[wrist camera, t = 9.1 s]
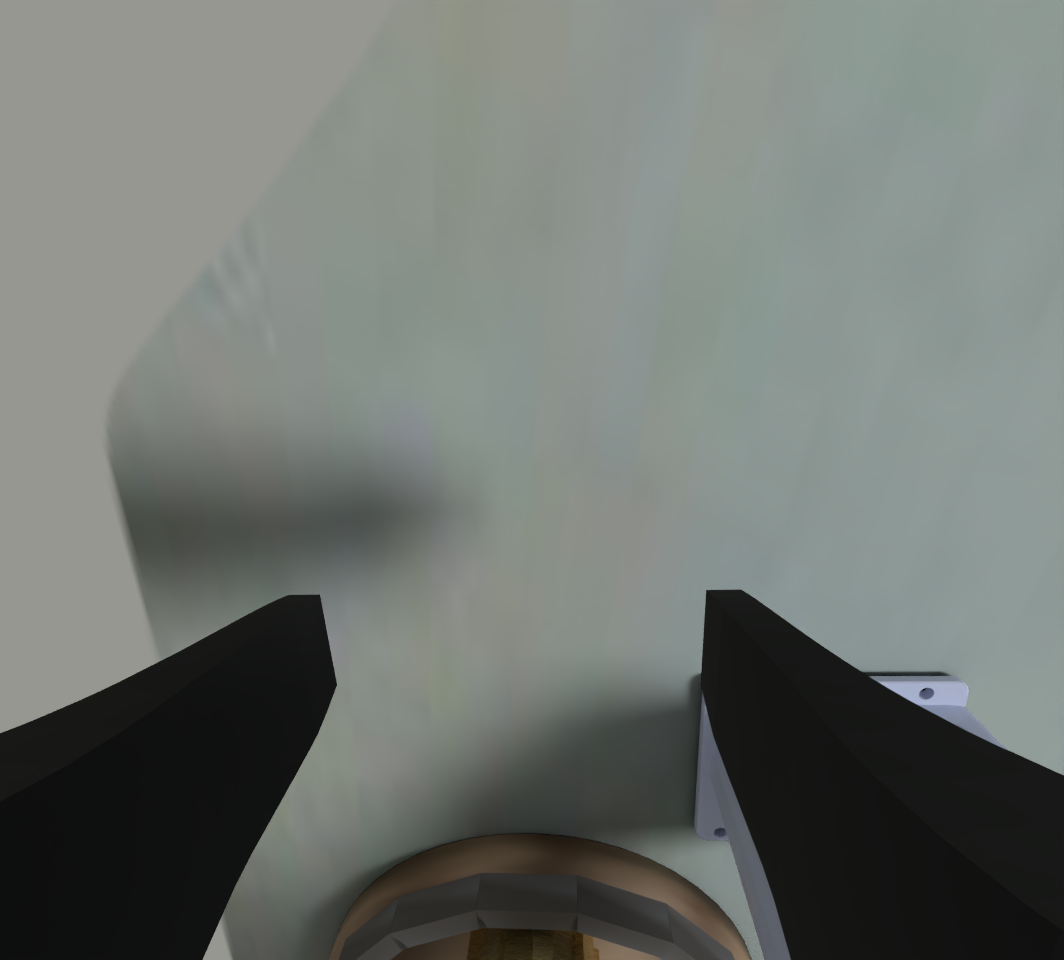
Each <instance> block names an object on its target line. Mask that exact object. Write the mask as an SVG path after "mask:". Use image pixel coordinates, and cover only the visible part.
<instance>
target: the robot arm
mask: <svg viewBox="0 0 1064 960" xmlns="http://www.w3.org/2000/svg"><path fill="white" fill-rule="evenodd" d="M336 686H337V683H336V677H335V672H334V667H333V662H332V656H331V651H330V646H329V641H328V635H327V630H326V625H325V620H324V614H323V609H322V604H321V598H320V595H288V596H285V597H283V598H280V599H278V600H276V601H274V602H272V603H269V604H267V605H265V606H263V607H261V608H259V609H258V610H256V611H254V612H252V613H250V614H248V615H246V616H244V617H242V618H240V619H239V620H237V621H235V622H233V623H231V624H229V625H228V626H226V627H224V628H222V629H220V630H218V631H217V632H215V633H213V634H211V635H209V636H207V637H205V638H204V639H202V640H200V641H198V642H196V643H194V644H193V645H191V646H189V647H187V648H185V649H183V650H181V651H179V652H178V653H176V654H174V655H172V656H170V657H168V658H166V659H164V660H162V661H160V662H158V663H156V664H154V665H152V666H150V667H148V668H146V669H144V670H142V671H140V672H138V673H136V674H134V675H132V676H130V677H128V678H126V679H124V680H122V681H120V682H119V683H116V684H114V685H112V686H110V687H108V688H106V689H104V690H102V691H100V692H97V693H95V694H93V695H91V696H89V697H86V698H84V699H82V700H80V701H78V702H75V703H73V704H71V705H68V706H66V707H64V708H62V709H59V710H57V711H54V712H52V713H50V714H47V715H45V716H43V717H40V718H38V719H36V720H33V721H31V722H28V723H26V724H23V725H21V726H19V727H16V728H13V729H10V730H8V731H5V732H3V733H0V960H203V957H204V955H205V952H206V950H207V948H208V945H209V944H210V941H211V939H212V937H213V935H214V932H215V930H216V928H217V926H218V923H219V921H220V919H221V917H222V914H223V912H224V910H225V908H226V905H227V903H228V901H229V899H230V896H231V894H232V892H233V890H234V887H235V885H236V883H237V881H238V879H239V877H240V875H241V873H242V872H243V870H244V868H245V866H246V864H247V862H248V860H249V858H250V856H251V854H252V852H253V850H254V849H255V847H256V845H257V843H258V841H259V840H260V838H261V836H262V834H263V833H264V831H265V829H266V827H267V825H268V824H269V822H270V820H271V818H272V816H273V815H274V813H275V811H276V809H277V807H278V806H279V804H280V802H281V800H282V798H283V797H284V795H285V793H286V791H287V790H288V788H289V786H290V784H291V782H292V781H293V779H294V777H295V775H296V773H297V772H298V770H299V768H300V766H301V764H302V762H303V761H304V759H305V757H306V755H307V753H308V751H309V750H310V748H311V746H312V744H313V742H314V740H315V738H316V736H317V735H318V732H319V730H320V727H321V725H322V722H323V720H324V718H325V715H326V713H327V710H328V707H329V705H330V702H331V699H332V697H333V694H334V691H335V689H336ZM701 688H702V703H701V719H700V736H699V752H698V768H697V785H696V801H695V818H694V826H695V831H696V835H697V836H698V837H699V838H701V839H703V840H717V841H729V842H730V845H731V848H732V852H733V855H734V858H735V862H736V865H737V868H738V872H739V875H740V879H741V882H742V885H743V889H744V892H745V895H746V899H747V902H748V905H749V909H750V912H751V915H752V919H753V922H754V925H755V929H756V932H757V935H758V939H759V942H760V946H761V949H762V952H763V956H764V959H765V960H1064V775H1061V774H1059V773H1057V772H1054V771H1052V770H1050V769H1048V768H1046V767H1043V766H1041V765H1039V764H1037V763H1035V762H1032V761H1030V760H1028V759H1026V758H1024V757H1021V756H1019V755H1017V754H1015V753H1013V752H1010V751H1008V750H1007V749H1006V748H1005V747H1004V746H1003V745H1002V744H1001V743H1000V742H999V741H998V740H997V739H996V738H995V737H994V736H993V735H992V734H991V733H990V732H989V731H988V730H987V729H986V728H985V727H984V726H983V725H982V724H981V722H980V721H979V720H978V719H977V718H976V717H975V716H974V715H973V714H972V713H971V712H970V711H969V710H968V709H967V708H966V707H965V705H966V701H967V697H968V693H969V688H968V687H967V685H966V684H965V683H964V682H963V681H962V680H961V679H959V678H958V677H954V676H868V675H866V674H864V673H863V672H861V671H859V670H858V669H856V668H855V667H853V666H851V665H850V664H848V663H847V662H845V661H844V660H842V659H841V658H839V657H838V656H836V655H835V654H833V653H832V652H830V651H829V650H827V649H826V648H824V647H823V646H821V645H820V644H818V643H817V642H815V641H814V640H812V639H811V638H810V637H808V636H807V635H805V634H804V633H802V632H801V631H800V630H798V629H797V628H795V627H794V626H793V625H791V624H790V623H788V622H787V621H786V620H784V619H783V618H781V617H780V616H779V615H777V614H776V613H774V612H773V611H772V610H770V609H769V608H768V607H766V606H765V605H763V604H762V603H761V602H759V601H758V600H756V599H755V598H753V597H752V596H750V595H749V594H747V593H746V592H744V591H742V590H706V606H705V622H704V639H703V656H702V673H701ZM924 688H926V690H924V691H923V692H920V691H921V690H922V689H924ZM717 828H718V829H717Z"/></svg>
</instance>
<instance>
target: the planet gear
mask: <svg viewBox="0 0 1064 960" xmlns="http://www.w3.org/2000/svg"><path fill="white" fill-rule="evenodd" d="M466 960H600V959H599V949H595V948H594V944H593V937H592V936H589V935H586V934H583V933H579V932H576V931H571V930H538V929H505V928H480V929H477V930H473V931H471V932H470V937H469V944H468V950H467V957H466Z"/></svg>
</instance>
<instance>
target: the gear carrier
mask: <svg viewBox="0 0 1064 960" xmlns="http://www.w3.org/2000/svg"><path fill="white" fill-rule="evenodd" d="M480 928H505V929H538V930H571V931H576V932H579V933H583V934H586V935H589V936H592V937H593V944H594V948H595V949H599V959H600V960H752V959H751V956H750V954H749V951H748V949H747V946H746V944H745V941H744V939H743V938H742V936H741V935H740V933H739V931H738V930H737V928H736V926H735V925H734V923H733V922H732V921H731V919H730V918H729V917H728V916H727V915H726V914H725V912H724V911H723V910H722V909H721V908H720V907H719V905H718V904H717V903H715V902H714V901H713V900H712V899H711V898H710V897H709V896H707V895H706V894H705V893H704V892H703V891H702V890H701V889H699V888H698V887H697V886H695V885H694V884H692V883H691V882H689V881H688V880H686V879H685V878H683V877H682V876H680V875H679V874H677V873H676V872H674V871H672V870H670V869H668V868H666V867H664V866H662V865H660V864H658V863H656V862H654V861H652V860H650V859H648V858H645V857H642V856H640V855H637V854H635V853H632V852H629V851H627V850H624V849H621V848H617V847H614V846H610V845H606V844H603V843H599V842H595V841H591V840H585V839H579V838H573V837H566V836H559V835H544V834H502V835H493V836H485V837H478V838H470V839H466V840H462V841H458V842H454V843H450V844H446V845H442V846H439V847H436V848H434V849H431V850H428V851H426V852H423V853H420V854H417V855H415V856H414V857H412V858H410V859H408V860H406V861H404V862H402V863H400V864H398V865H396V866H394V867H393V868H392V869H390V870H389V871H387V872H386V873H385V874H383V875H382V876H380V877H379V878H377V879H376V880H375V881H374V882H373V883H372V884H371V885H370V886H369V887H368V888H367V889H366V890H365V891H364V892H363V893H361V894H360V896H359V897H358V898H357V900H356V901H355V903H354V904H353V905H352V907H351V908H350V909H349V911H348V913H347V915H346V917H345V919H344V921H343V923H342V925H341V927H340V930H339V932H338V935H337V938H336V941H335V944H334V946H333V949H332V952H331V955H330V958H329V960H466V957H467V950H468V944H469V937H470V932H471V931H473V930H477V929H480Z"/></svg>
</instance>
